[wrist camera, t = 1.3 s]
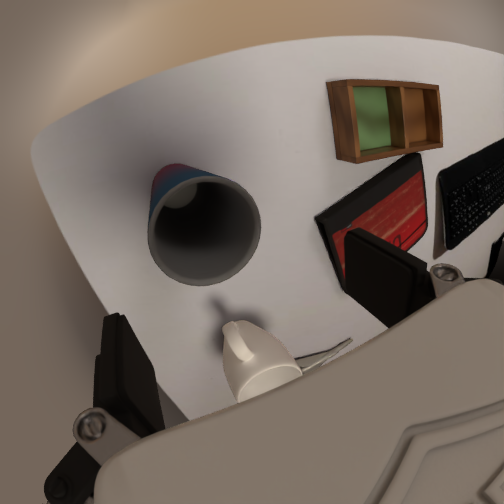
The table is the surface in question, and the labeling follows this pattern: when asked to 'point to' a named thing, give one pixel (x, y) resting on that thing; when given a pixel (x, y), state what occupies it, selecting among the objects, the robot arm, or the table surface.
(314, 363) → the toy airplane
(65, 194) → the table surface
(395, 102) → the wooden compartment tray
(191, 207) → the cup
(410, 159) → the binder
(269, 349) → the mug
